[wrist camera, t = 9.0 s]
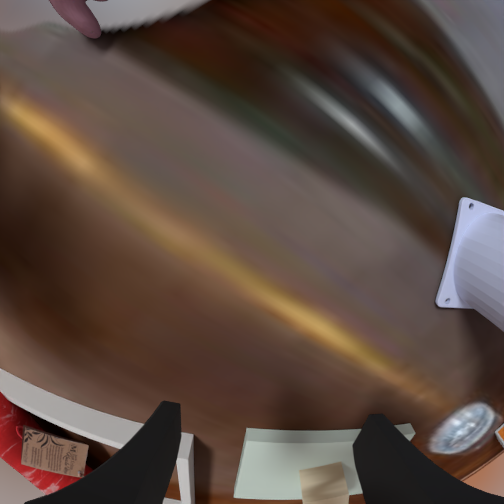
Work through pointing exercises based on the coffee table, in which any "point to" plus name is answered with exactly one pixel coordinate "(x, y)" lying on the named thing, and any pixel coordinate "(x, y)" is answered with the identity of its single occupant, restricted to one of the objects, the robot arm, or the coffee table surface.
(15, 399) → the bottle tray rim
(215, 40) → the coffee table surface
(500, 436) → the skincare box
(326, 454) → the board
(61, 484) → the red bottle
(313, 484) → the maple cube
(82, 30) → the video game controller
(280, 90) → the coffee table surface
